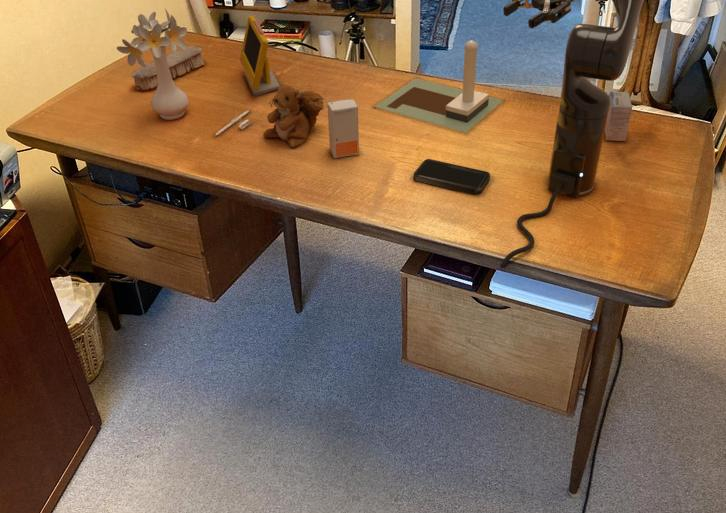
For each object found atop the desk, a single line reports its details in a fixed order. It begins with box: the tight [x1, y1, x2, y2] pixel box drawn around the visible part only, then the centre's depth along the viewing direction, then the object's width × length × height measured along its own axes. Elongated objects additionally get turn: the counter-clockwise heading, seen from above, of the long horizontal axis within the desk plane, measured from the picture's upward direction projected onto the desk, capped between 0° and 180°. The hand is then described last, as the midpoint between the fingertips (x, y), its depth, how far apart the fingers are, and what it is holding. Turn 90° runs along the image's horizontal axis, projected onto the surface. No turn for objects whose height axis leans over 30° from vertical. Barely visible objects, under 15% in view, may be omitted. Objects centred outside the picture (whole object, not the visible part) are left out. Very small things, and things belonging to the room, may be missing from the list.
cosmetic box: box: [326, 98, 360, 159], centre depth 157 cm, size 6×4×12 cm
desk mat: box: [373, 77, 504, 134], centre depth 178 cm, size 20×26×1 cm
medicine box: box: [604, 91, 633, 142], centre depth 160 cm, size 8×4×9 cm, turn 168°
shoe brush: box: [131, 45, 205, 91], centre depth 196 cm, size 24×8×5 cm, turn 146°
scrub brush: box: [446, 40, 490, 123], centre depth 168 cm, size 11×6×18 cm, turn 145°
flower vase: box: [116, 8, 190, 121], centre depth 170 cm, size 13×18×25 cm
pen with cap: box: [214, 109, 251, 137], centre depth 172 cm, size 14×4×2 cm, turn 153°
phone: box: [413, 158, 491, 195], centre depth 150 cm, size 8×1×15 cm
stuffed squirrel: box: [262, 81, 326, 149], centre depth 164 cm, size 10×14×13 cm
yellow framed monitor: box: [239, 14, 280, 97], centre depth 186 cm, size 20×8×16 cm, turn 17°
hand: (516, 18), depth 163 cm, fingers open, 8 cm apart
